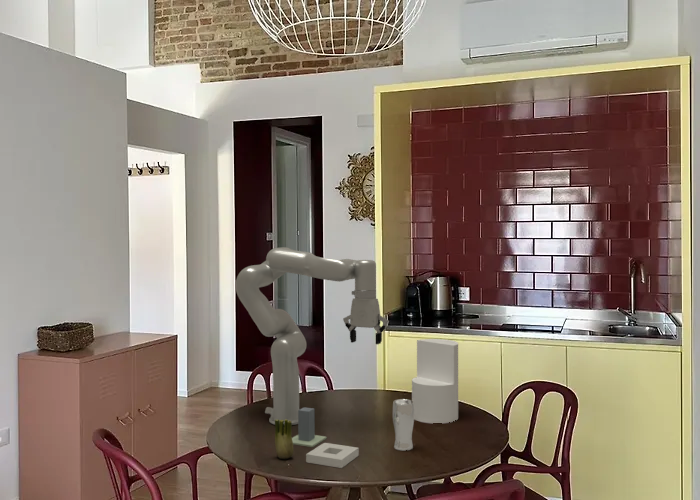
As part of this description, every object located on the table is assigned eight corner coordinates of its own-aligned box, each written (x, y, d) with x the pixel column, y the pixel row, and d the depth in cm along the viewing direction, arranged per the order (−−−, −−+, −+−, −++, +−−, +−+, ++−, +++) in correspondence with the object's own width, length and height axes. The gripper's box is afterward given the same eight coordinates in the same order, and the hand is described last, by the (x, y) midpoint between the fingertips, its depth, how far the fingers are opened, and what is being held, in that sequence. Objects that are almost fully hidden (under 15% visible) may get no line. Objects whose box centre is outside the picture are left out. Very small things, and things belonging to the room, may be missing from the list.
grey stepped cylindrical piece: (431, 408, 264) (430, 337, 263) (467, 416, 252) (467, 342, 251) (402, 417, 252) (402, 342, 251) (439, 426, 240) (439, 348, 239)
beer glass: (400, 452, 212) (399, 405, 212) (388, 446, 218) (388, 400, 218) (418, 449, 215) (418, 402, 215) (406, 443, 222) (406, 397, 221)
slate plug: (298, 440, 223) (298, 410, 223) (304, 436, 227) (303, 407, 227) (309, 441, 222) (308, 411, 221) (314, 438, 225) (314, 408, 225)
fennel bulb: (272, 457, 209) (272, 418, 208) (286, 453, 212) (285, 416, 211) (282, 462, 204) (282, 423, 204) (296, 458, 207) (296, 420, 207)
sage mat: (285, 443, 222) (285, 441, 222) (300, 434, 231) (300, 433, 231) (312, 447, 218) (312, 445, 218) (326, 438, 227) (326, 436, 227)
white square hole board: (306, 462, 204) (306, 454, 204) (324, 450, 215) (324, 442, 215) (341, 468, 199) (341, 459, 199) (358, 455, 209) (358, 447, 209)
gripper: (338, 294, 238) (339, 342, 238) (384, 296, 230) (384, 346, 231) (348, 293, 245) (348, 339, 245) (392, 294, 237) (392, 342, 238)
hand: (365, 342), depth 238 cm, fingers open, 9 cm apart
